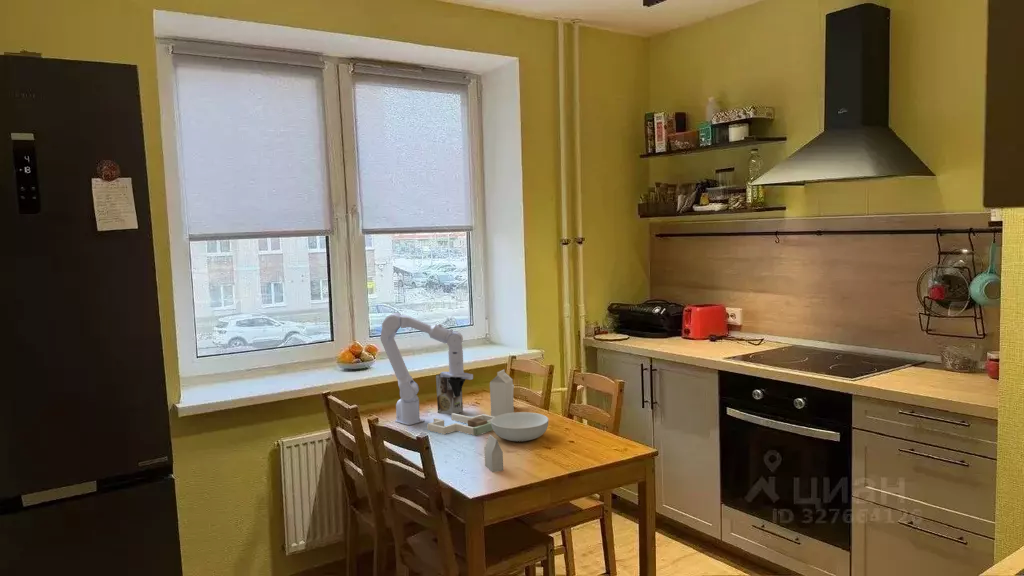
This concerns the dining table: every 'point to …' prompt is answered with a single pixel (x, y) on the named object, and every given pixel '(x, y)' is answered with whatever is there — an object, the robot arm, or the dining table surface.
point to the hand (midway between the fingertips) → (457, 396)
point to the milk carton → (501, 394)
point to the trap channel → (440, 428)
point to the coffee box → (447, 397)
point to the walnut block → (476, 422)
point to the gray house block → (493, 455)
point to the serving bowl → (520, 426)
